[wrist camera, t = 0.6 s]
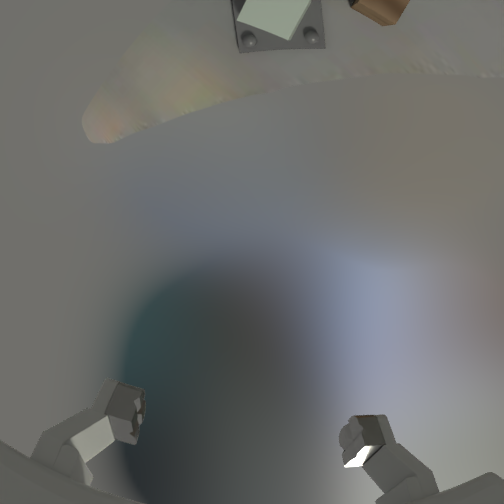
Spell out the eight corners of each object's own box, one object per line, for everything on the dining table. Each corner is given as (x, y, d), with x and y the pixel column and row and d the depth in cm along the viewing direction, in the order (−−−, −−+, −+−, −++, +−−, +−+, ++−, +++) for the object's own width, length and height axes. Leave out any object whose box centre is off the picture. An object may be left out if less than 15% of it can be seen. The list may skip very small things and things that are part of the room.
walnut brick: (365, -17, 29) (375, -27, 23) (397, 2, 29) (412, -4, 24) (350, 7, 33) (358, 1, 27) (382, 26, 33) (395, 24, 28)
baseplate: (231, -18, 32) (218, -26, 27) (316, -25, 30) (318, -35, 24) (241, 52, 41) (230, 54, 36) (324, 48, 39) (327, 49, 33)
